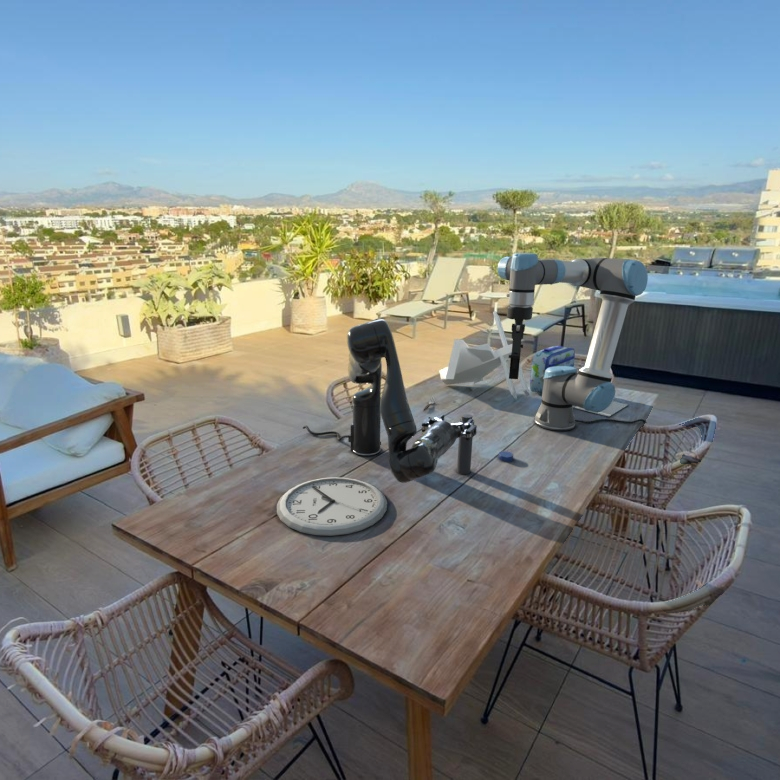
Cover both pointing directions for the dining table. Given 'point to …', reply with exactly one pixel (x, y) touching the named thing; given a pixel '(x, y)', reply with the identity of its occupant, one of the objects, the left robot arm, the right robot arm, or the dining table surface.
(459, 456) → the bottle
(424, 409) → the fork
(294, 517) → the wall clock
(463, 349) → the white plastic object
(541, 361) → the lunch box
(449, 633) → the dining table surface
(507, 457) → the lid
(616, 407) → the grey flat rectangular slab
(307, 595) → the dining table surface
